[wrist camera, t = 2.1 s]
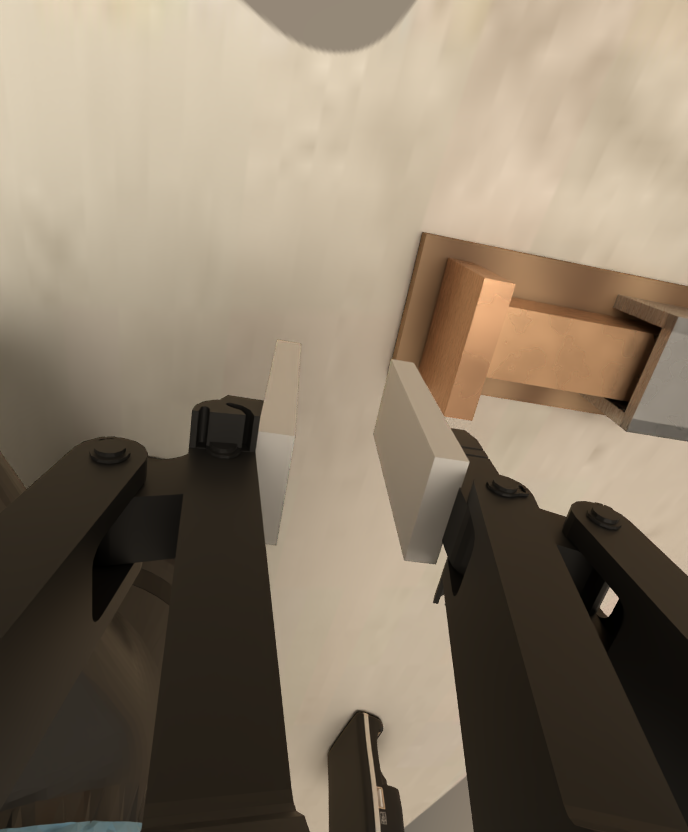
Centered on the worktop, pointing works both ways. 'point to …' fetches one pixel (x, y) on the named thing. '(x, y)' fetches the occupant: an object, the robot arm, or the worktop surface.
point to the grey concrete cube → (655, 376)
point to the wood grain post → (524, 343)
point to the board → (533, 283)
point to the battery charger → (361, 782)
